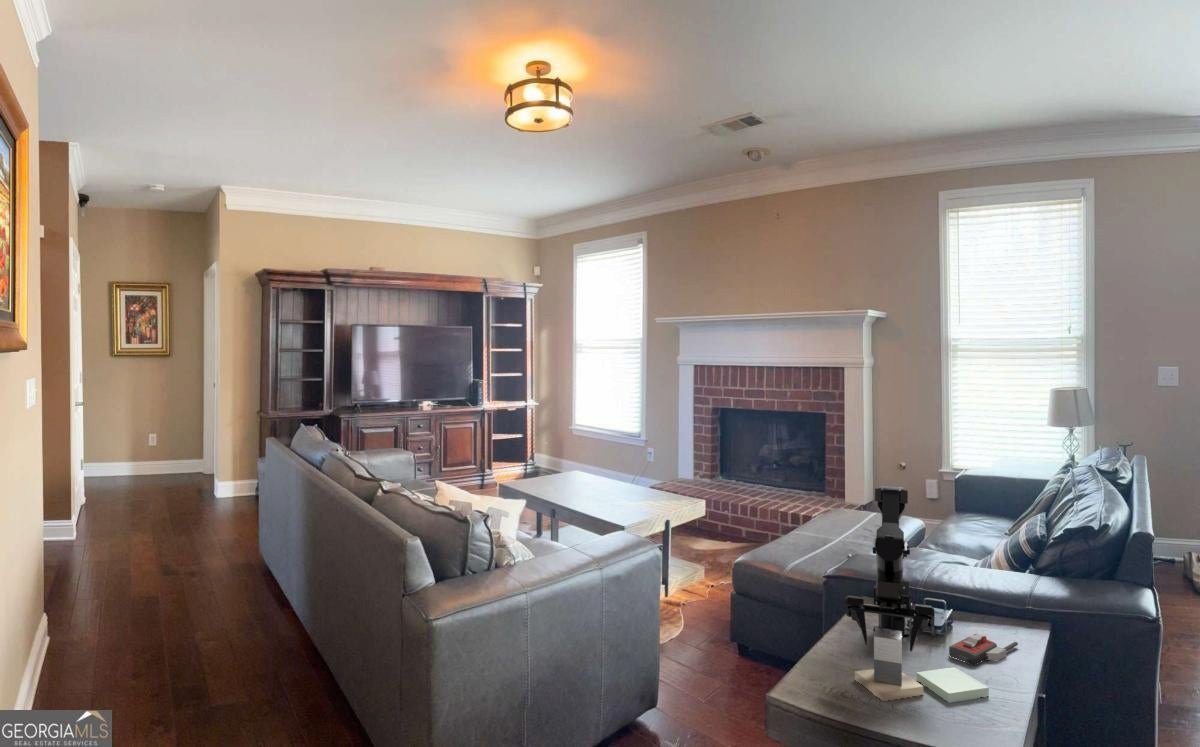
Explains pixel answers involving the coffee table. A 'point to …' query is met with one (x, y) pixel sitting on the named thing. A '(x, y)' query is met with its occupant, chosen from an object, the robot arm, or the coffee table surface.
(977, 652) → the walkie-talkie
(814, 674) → the coffee table surface
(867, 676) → the stand
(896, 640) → the block
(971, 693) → the stand
